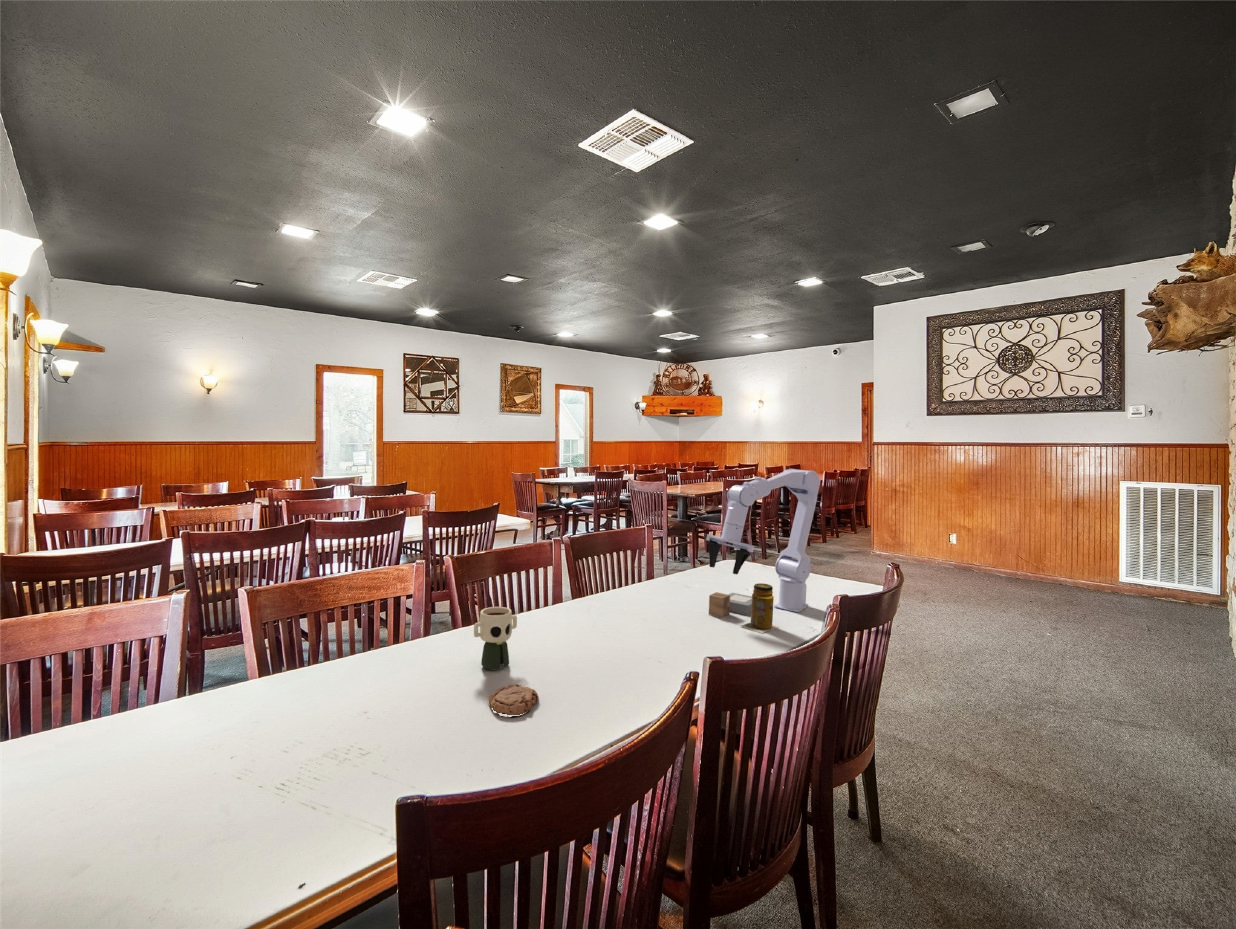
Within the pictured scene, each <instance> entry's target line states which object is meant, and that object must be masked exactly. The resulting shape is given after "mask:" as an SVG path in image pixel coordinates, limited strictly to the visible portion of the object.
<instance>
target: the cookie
mask: <svg viewBox="0 0 1236 929" xmlns="http://www.w3.org/2000/svg"><path fill="white" fill-rule="evenodd" d="M487 701H488V704H489V705H490V709H491V708H493V710H494V711H496V712H498V713H502V714H507V715H520V714H523V713H525V712H527V711H529V712H530V711H531V710H532V709H533V707H534V705H535V704H538V703H539V701H540V698H539V695H538V693H537V691H536V690H535V689H534V688H531V687H529V686H524V685H523V686H522V685H520V684H518V683H516V684H509V685H507V686H502V687H500V688H498V689H497V690H496V691H495V692H493V693H492V694H490V696H488V700H487ZM531 708H532V709H531ZM527 713H528V712H527ZM525 714H526V713H525Z"/></svg>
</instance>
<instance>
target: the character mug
mask: <svg viewBox="0 0 1236 929" xmlns="http://www.w3.org/2000/svg"><path fill="white" fill-rule="evenodd" d="M512 613H513V612H512V609H511V608H510V607H505V606H504V607H503V606H491V607H486V608H483V609H481V610H480V612H479V614H480V615H479V622H476V623H474V625H473V636H474V638H480V640H482V641H484V644H483V648H482V655H481V663H480V664H481V666H482V667H483V668H484V669H486V670H492V671H495V670H500V669H501V666H502V665H503V669H506V668H507V667H509V665H510V658H509V657H510V655H509V647H508V643H507V641H508V640H509V639H510V638H511V636H512V633H513V630H514V629H516V628H517V627H518V626H517V624H518V617H517V615H516V614H512Z"/></svg>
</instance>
